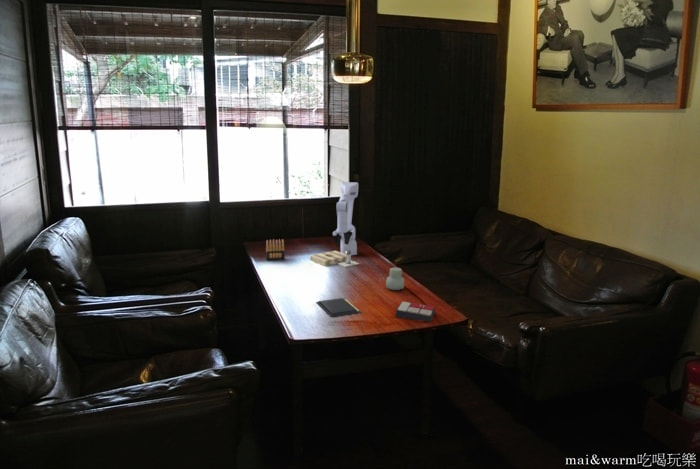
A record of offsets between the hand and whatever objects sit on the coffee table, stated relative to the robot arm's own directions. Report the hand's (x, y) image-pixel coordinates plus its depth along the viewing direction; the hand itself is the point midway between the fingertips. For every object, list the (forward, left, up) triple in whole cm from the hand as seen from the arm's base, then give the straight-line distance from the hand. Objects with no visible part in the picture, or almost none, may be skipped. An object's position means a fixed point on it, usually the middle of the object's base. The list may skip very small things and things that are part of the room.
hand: (342, 245), depth 306 cm
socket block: (+5, -5, -9) cm, 12 cm away
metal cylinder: (+1, +7, -9) cm, 11 cm away
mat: (+1, +7, -9) cm, 12 cm away
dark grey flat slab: (+46, +57, -10) cm, 74 cm away
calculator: (+25, +84, -10) cm, 88 cm away
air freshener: (+8, +53, -10) cm, 54 cm away
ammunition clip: (+29, -26, -10) cm, 40 cm away
